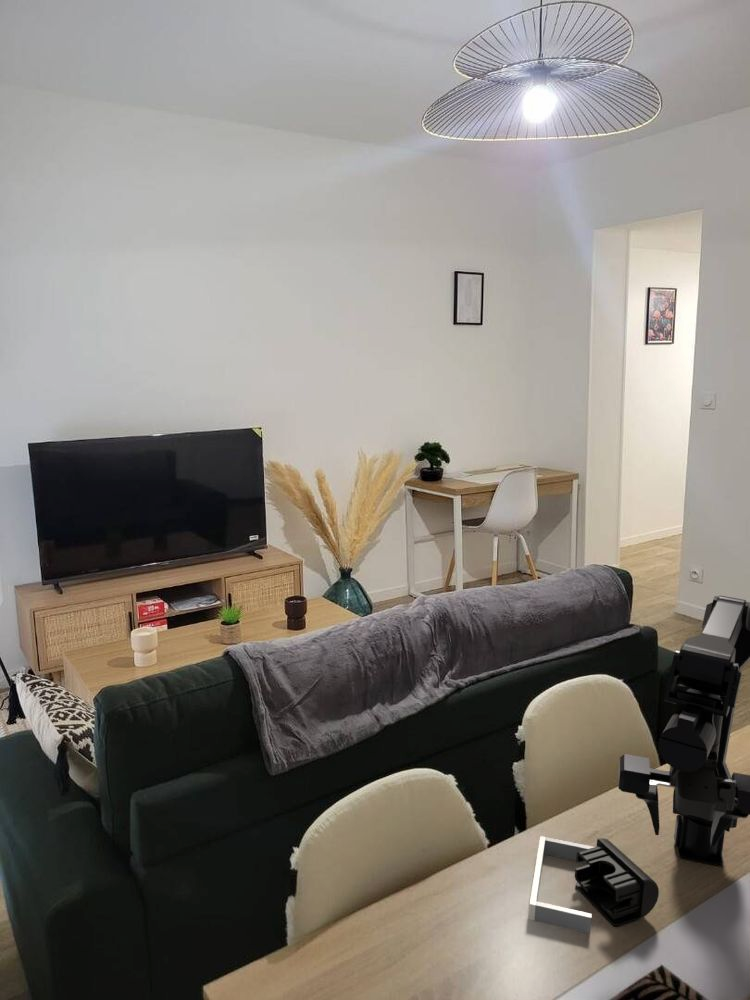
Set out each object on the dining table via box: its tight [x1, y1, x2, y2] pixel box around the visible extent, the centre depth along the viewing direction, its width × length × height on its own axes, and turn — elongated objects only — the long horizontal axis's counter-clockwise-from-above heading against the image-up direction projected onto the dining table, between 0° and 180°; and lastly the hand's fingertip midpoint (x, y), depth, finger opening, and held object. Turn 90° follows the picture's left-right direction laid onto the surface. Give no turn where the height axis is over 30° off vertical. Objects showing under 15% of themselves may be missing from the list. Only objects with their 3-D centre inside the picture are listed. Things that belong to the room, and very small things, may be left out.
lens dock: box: [528, 835, 595, 934], centre depth 114 cm, size 8×16×2 cm, turn 163°
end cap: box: [574, 837, 660, 929], centre depth 112 cm, size 10×7×7 cm
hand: (684, 838), depth 107 cm, fingers open, 7 cm apart
